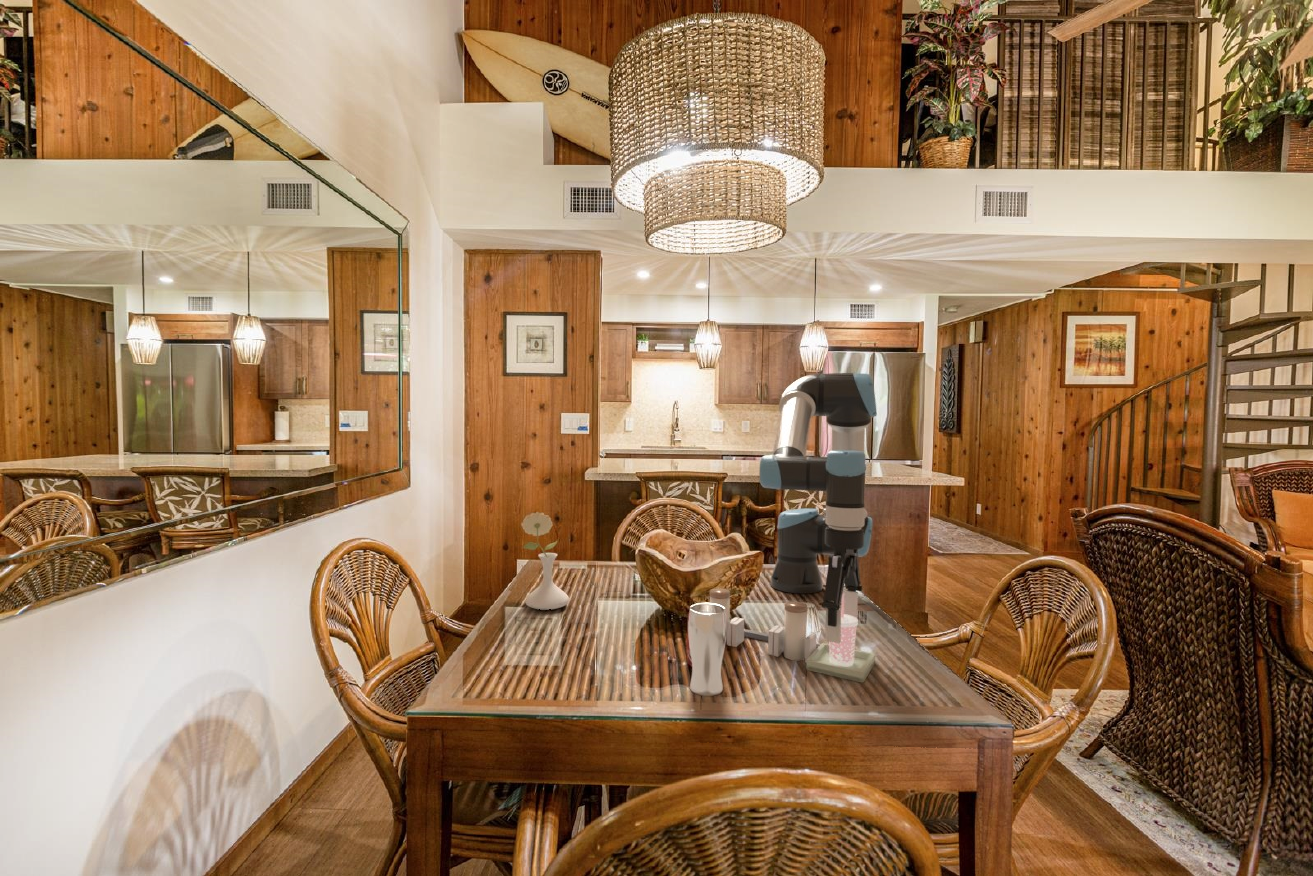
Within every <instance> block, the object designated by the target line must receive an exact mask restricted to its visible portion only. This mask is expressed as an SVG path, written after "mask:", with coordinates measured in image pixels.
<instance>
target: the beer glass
mask: <svg viewBox="0 0 1313 876" xmlns="http://www.w3.org/2000/svg"><path fill="white" fill-rule="evenodd" d="M698 603H699V604H697V603H694V605H693V604H692V605H690V607H689V612H690V614H689V613H688V614H689V627H688V637H689V646H690V653H691V659H692V666H691V667H692V669H691V671H692V672H691V677H690V678H691V679H690V684H689V689H690V691H691V692H692V693H694V694H696V695H699V696H702V697H712V696H717V695H718V696H719V695H720V694H721V693H722V692H723V691H724V690H723V689H724V686H723V685H724V684H723V679H722V663H723V659H724V654H725V649H726V643H727V642H726V615H725V608H724V607H723V606H721V605H718V604H712V603H710V602H698ZM725 642H726V643H725Z"/></svg>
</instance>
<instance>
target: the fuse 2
mask: <svg viewBox="0 0 1313 876" xmlns="http://www.w3.org/2000/svg"><path fill="white" fill-rule="evenodd" d="M807 612H808V605H807V604H806V602H802V601H801V602H800V601H795V600H794V601H793V600H792V601H786V602H784V624H783V625H784V626H783V627H784V651H783V656H784V658H785V659H788V660H791V661H804V660H805V639H806V638H807V619H808V618H807V614H808V613H807ZM803 659H804V660H803Z"/></svg>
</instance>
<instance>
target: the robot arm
mask: <svg viewBox="0 0 1313 876" xmlns="http://www.w3.org/2000/svg"><path fill="white" fill-rule="evenodd" d="M875 394H876V393H875V386H874V378H873V377H872V375H870V374H869V373H860V372H859V373H858V372H838V373H836V372H835V373H833V372H832V373H820V372H819V373H818V372H817V373H811V374H807V375H805V376H802V377H800V378H798V379H797V380H795V381H794V382H793V383H791V384H790V385H789V386H788V387H787V388H786V389H785V390H784V392H782V394H781V397H780V400H779V404H778V411H779V414H780V418H779V421H778V427H777V432H776V437H775V440H774V446H773V451H772V454H769V455H767V454H765V455H763V456H762V457H761V458H760V460H759V461H760V463H759V470H758V471H759V474H758V475H759V483H760V485H761V486H762V488H765V489H774V490H778V491H780V490H790V491H812V492H816V491H817V492H825V508H823V510H822V512H823V514H822V513H821V514H819V512H820V511H818V509H817V508H808V507H807V508H795V509H789V510H785V511H782V512H780V514H779V515H778V519H777V526H776V529H777V548H776V549H777V551H776V553H777V555H776V556H777V557H776V562H775V566H774V568H773V571H772V574H771V576H770V586H771V587H772V588H773V589H775V590H778V591H781V592H786V593H792V594H815V593H819V592H821V591H823V587H824V593H823V602H821V608H823V609H825V641H826V642H829V641H830V642H835V643H839V644H840V642H841V604H842V594H844V614H847V615H851V616H854V617H856V618H857V619H858V608H859V607H858V605H859V604H858V603H859V597H858V596H859V592H862V590H863V586H862V585H861V583H862V581H861V573H860V566H859V557H861V558H863V557H865V556H866V555H867V554H868V552H869V550H870V546H871V540H872V532H873V518H872V517H870V516H868V511H867V509H866V508H865V494H866V493H865V490H866V471H867V464H866V454H865V431H866V430H865V429H866V428H867V427H868V426H869V425H871V423H872V418H874V417H877V415H878V414H877V403H876V395H875ZM813 417H826V424H827V425H828V426H829V427H830V428H831V450H829V451H828V452H827V454H826V456H807V448H808V440H809V434H810V433H809V432H810V425H811V424H810V423H811V420H812V418H813ZM818 555H829V556H828V559H827V560H828V563H827V564H828V565H827V573H826V580H825V586H823V582H824V581H823V579H822V575H821V572H820V569H819V564H818ZM844 587H845V589H844Z"/></svg>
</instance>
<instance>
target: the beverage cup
mask: <svg viewBox="0 0 1313 876" xmlns="http://www.w3.org/2000/svg"><path fill="white" fill-rule="evenodd" d="M840 609H841V642H840V644H839V643H835V642H830V641H828V644H829V654H830V662H831V663H832V664H834V665H839V666H843V667H848V666H852V665H853V663H854V651H855V650H856V649H855V647H856V638H857V637H856V636H857V626H858V625H859V619H858V617H857V618H856V617H854V616H851V615H847V614H844V593H842V598H841V603H840Z"/></svg>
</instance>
